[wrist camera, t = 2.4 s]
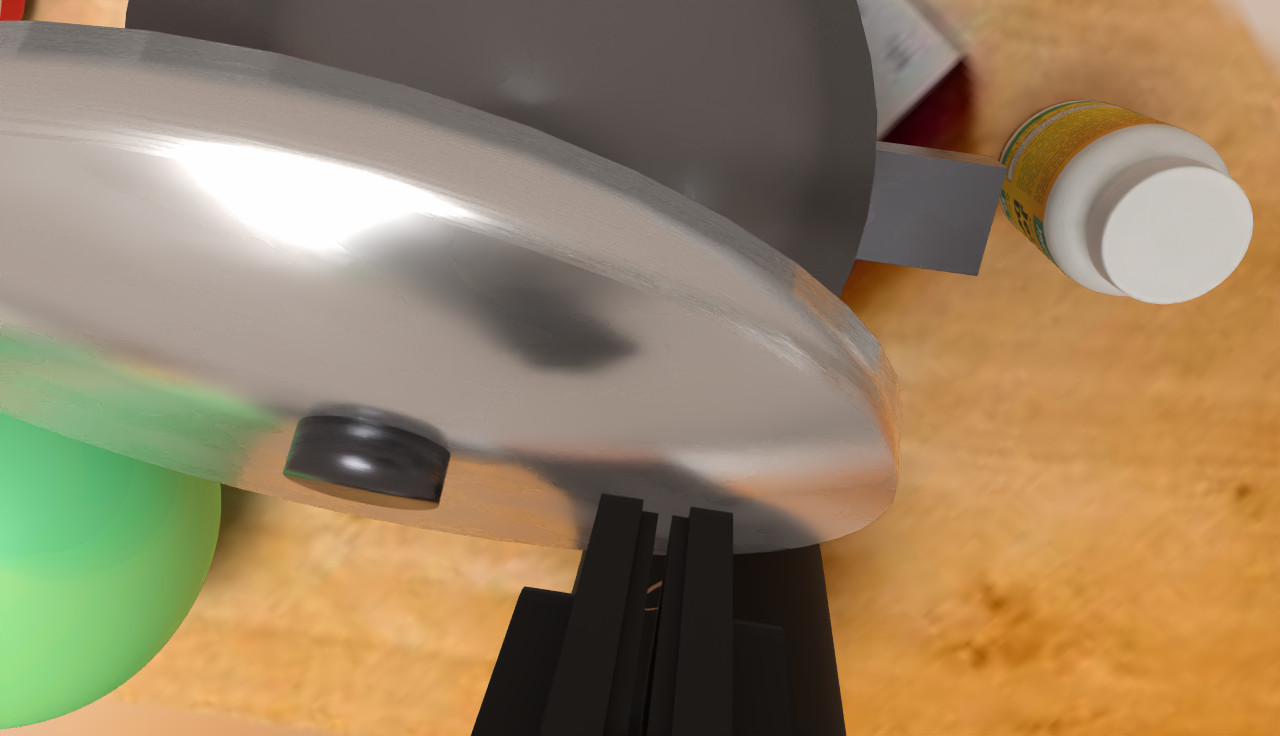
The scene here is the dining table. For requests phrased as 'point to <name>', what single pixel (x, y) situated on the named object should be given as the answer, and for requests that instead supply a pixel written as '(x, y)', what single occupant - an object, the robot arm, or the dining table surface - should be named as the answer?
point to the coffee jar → (775, 596)
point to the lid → (408, 306)
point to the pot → (664, 105)
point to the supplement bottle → (1125, 202)
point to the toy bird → (90, 567)
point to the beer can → (11, 10)
